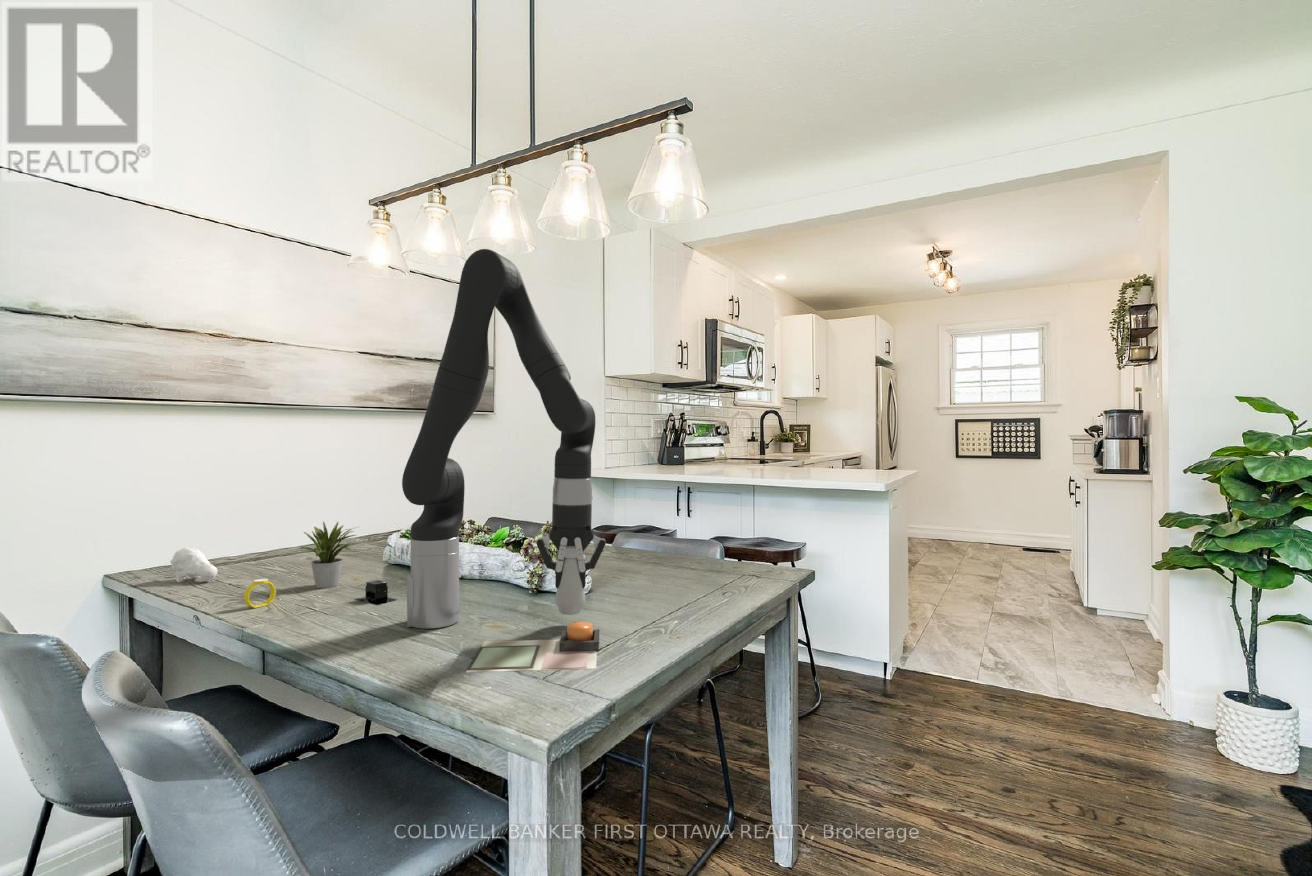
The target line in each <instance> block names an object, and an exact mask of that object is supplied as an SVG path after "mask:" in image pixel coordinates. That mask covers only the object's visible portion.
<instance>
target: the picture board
mask: <svg viewBox="0 0 1312 876" xmlns="http://www.w3.org/2000/svg"><path fill="white" fill-rule="evenodd" d="M599 649H600V629H593V638H592V639H590V640H587V641H570V640H568V639H567V630H562V631H561V635H560V639H533V640H532V639H531V640H530V639H526V640H523V639H522V640H498V641H497V640H494V641H493V640H492V641H490V640H489V641H483V643H482V645H480V647H479V648H478V650H477V651H476V653H475V655H474V656H473V658H472V660H471V661H470V662H469V665H468V666H467V668H466V671H465V674H469V673H470V674H471V673H499V672H528V671H529V672H530V671H531V672H533V671H535V672H536V671H561V670H562V671H563V670H564V671H565V670H570V671H571V670H592V669H593V670H594V669H597V659H598V658H597V655H598V652H600V650H599Z"/></svg>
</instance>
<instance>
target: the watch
mask: <svg viewBox="0 0 1312 876" xmlns="http://www.w3.org/2000/svg"><path fill="white" fill-rule="evenodd" d="M265 584H267V585H268V586H269V588H270V595H269V597H268V599H267V600H266V601H265V602H264V603H259V604H257V605H253V604H252V603H251V601H250V594H251V592H252V590H253V589H254V588H255V587H256V586H258V585H265ZM276 592H277V591H276V587H275V585H274V584H273V583H272V582H270V581H269V579H267V578H258V579H253V581H252V583H250V584H249V585H248V587H247V588H246V590H245V592H244V594H243V595H244V597H243V600H244V602H245V605H247V606H248V607H250V608H252V609H257V608H261V607H266V606H270V605H271V604H272V602H273V601H274V599H275V597H276V595H277V594H276Z"/></svg>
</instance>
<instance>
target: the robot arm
mask: <svg viewBox="0 0 1312 876" xmlns="http://www.w3.org/2000/svg"><path fill="white" fill-rule="evenodd" d="M455 302H456V303H455V308H454V312H453V316H452V317H453V318H452V321H451V325H450V329H449V332H448V335H447V339H446V343H445V347H444V350H443V354H442V357H441V359H440V362H439V366H438V369H437V372H436V375H435V379H434V383H433V386H432V390H431V396H430V399H429V402H428V404H427V407H426V411H425V415H424V417H423V419H422V423H421V427H420V430H419V433H418V436H417V438H416V441H415V442H414V446H413V447H412V449H411V453H410V455H409V457H408V460H407V462H406V465H405V467H404V471H403V474H402V479H401V486H402V487H401V488H402V493H403V495H404V496H405V498H406V500H408V502H409V503H411V504H413V505H416V506H423V511H422V513H421V514H420V516H419V517H418V518H417V519H415V521H414V522H413V523H412V524H411V525H410V576H408V577H407V579H406V626H407V627H408V628H409V627H410V628H411V627H412V628H416V629H426V630H428V629H438V628H443V627H448V626H452V625H454V624H457V623H458V622H459V620H460V528H461V524H462V523H463V519H464V507H465V505H464V504H465V475H464V472H463V470H462V467H461V466H460V464H459V463H458V462H457V461H456V460H454V459H452V458H449V454H450V451H451V448H452V446H453V444H454V441H455V439H456V437H457V436H458V434H459V433H460V431H461V430H462V429H463V427H464V426H465V425H466V424H467V422H468V421H469V419H470V418H471V416H473V414H474V413H475V411H476V409H477V407H478V406H479V404H480V402H481V399H482V396H483V392H484V389H485V387H486V383H487V379H488V374H489V370H490V369H489V368H490V353H489V351H490V350H489V328H490V322H491V318H492V315H493V313H494V309H495V308H496V310H497V311H498V312H499V314H501V317H502V318H503V319H504V321H505V322H506V323H507V325H508V327H509V329H510V333H512V336H513V340H514V342H515V347H516V349H517V353H518V356H519V358H520V361H521V364H522V365H523V367H524V369H525V370H526V372H527V374H528V376H529V377H530V379H531V381H532V383H533V385H534V386H535V388H536V389H537V391H538V392H539V394H540V398H541V401H542V405H543V406H544V408H545V411H546V413H547V416H548V417H549V419H550V422H552V425H553V426H554V427H555V428H556V429H557V430H558V431H560V432H561V433H560V444H559V447H558V448H557V449H556V452H555V456H554V471H553V472H554V473H553V474H554V477H553V485H552V486H553V487H552V506H551V507H552V509H551V510H552V512H551V513H552V514H551V530H550V531H549V534H548V535H547V536H544V537H539V538H538V539H537V540H536V542H535V544H536V546H537V548H538V551H539V553H540V556H541V558H542V560H543V563H544V565H545V567H546V568H547V569H548V570H551V571H552V570H553V572H555V582H554V584H555V585H554V586H555V588H556V589H557V588H558V586H560V582H561V578H562V574H563V573H562V567H563V561H564V556H565V554H564V552H565V549H566V546H575V547H576V549H577V552H578V555H577V559H578V564H579V570H580V573H579V575H580V579H581V581H582V587H583V588H584V589H585V587H586V572H587V571H589V570H594V569H595V568H596V565H597V563H598V562H599V561H598V560H599V559H600V557H601V555H602V552H603V550H604V548H605V546H606V544H607V543H606V539H605V538H603V537H598V536H596V535H595V533H594V531H593V529H592V517H593V515H592V512H593V511H592V509H593V508H592V507H593V505H592V504H593V502H592V500H593V495H592V494H593V487H592V450H593V446H594V440H595V433H596V430H595V429H596V413H595V410H594V407H593V405H592V404H591V403H590V402H589V401H587V400H585V399H582V398H580V396H579V394H578V393H577V391H576V390H575V387H574V385H573V383H572V381H571V378H572V376H571V374H570V371H569V369H568V367H567V366H566V364H565V362H564V360H563V359H562V357H561V355H560V354H559V353H558V350H557V349H556V347H555V345H554V343H553V342H552V340H551V338H550V337H549V335H548V333H547V332H546V330H545V328H544V326H543V324H542V323H541V320H540V319H539V317H538V314H537V312H536V310H535V307H534V306H533V303H532V301H531V299H530V296H529V293H528V290H527V288H526V285H525V283H524V280H523V277H522V275H521V272H520V271H519V268H518V267H517V266H516V265H515V264H514V263H513V262H512V261H511V260H510V259H508V258H506V257H504V256H503V255H502V254H500V253H498V252H496V251H495V250H492V249H488V248H482V249H478V250H475V251H474V252H473V253H471V254H470V255H469V256H468V258H467V259H466V260H465V262H464V265H463V267H462V270H461V274H460V279H459V286H458V291H457V297H456V301H455ZM550 542H552V544H553V545H554V547H555V549H556V550H557V551H558V554H557V559H556V561H554V559H553V558H552V555H551V552H550V551H549V546H550ZM591 542H592V543H593V548H594V551H593V553H592V555H591V557H590V560H589V561H587V562H586V557H585V550H586V549H587V547H588V546H589V545H590V544H591ZM562 549H563V550H562ZM579 549H580V550H579Z"/></svg>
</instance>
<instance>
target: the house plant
mask: <svg viewBox="0 0 1312 876" xmlns="http://www.w3.org/2000/svg"><path fill="white" fill-rule="evenodd" d="M338 525H339V521H336V524H335V525H334V526H333V528H332V530H331V532H330V534H329V532H328V528H327V527H326V524H325V521H322V526H323V530H322V528H318V527H316V526H313V528H314V531H311V533H312V535H313V536H312V535H310V534H309V533H307V532H305V531H302V533H303V534H304V535H306V536H307V537H308V538H309V539H310V540H311V541H312V542H313V543H314V545H315V547H314V548H311V547H309V546H301V547H299V548H298V550H299V549H300V550H302V549H304V550H309V551H312V552H313V553H314V554H315V558H317V557H318V558H319V559H315V560H312V561H311V563H310V565H311V569H312V574H313V579H314V584H315V588H317V589H328V588H335V587H338V586H339V585H340V580H341V574H342V569H343V561H344V559H343V558H340V557H338V558H337V556H338V555H339V554H340V552H342V551H343V549H346V550H349V551H350V552H352V550H351V547H352V548H353V546H351V545H350V544H351V543H352V541H349V542H347V543H341V542H342V541H344V540H345V539H347V538H351V537H354V536H356V534H350V533H352V532H354V530H353V529H357V528H359V526H356V527H352V528H346V529H344V530H342V528H344V526H345V525H343V524H342V525H341V526H338ZM349 534H350V535H349ZM353 542H354V543H355V542H356V541H355V540H354V541H353ZM335 545H336V546H335ZM349 547H350V548H349ZM337 585H338V586H337ZM334 586H335V587H334Z"/></svg>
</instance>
